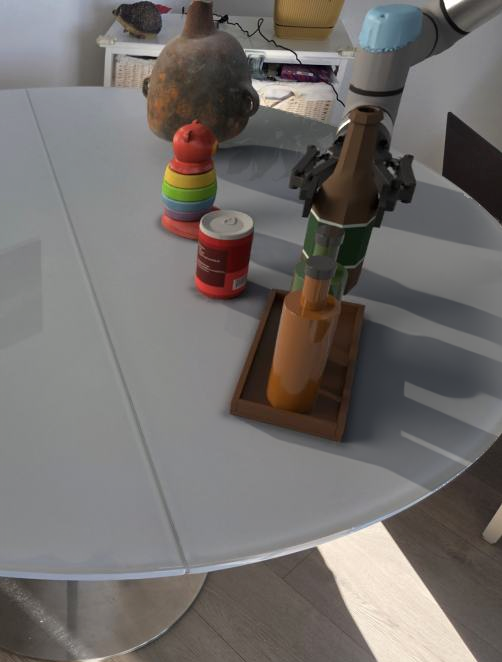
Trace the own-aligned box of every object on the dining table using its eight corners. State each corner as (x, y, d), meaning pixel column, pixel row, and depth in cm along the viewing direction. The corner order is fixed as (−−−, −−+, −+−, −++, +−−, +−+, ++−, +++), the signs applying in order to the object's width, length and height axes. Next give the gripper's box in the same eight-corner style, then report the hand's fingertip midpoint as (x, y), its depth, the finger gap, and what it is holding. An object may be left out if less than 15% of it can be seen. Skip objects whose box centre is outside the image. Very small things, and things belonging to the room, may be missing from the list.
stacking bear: (204, 242, 109) (214, 141, 98) (150, 231, 113) (153, 132, 102) (226, 215, 116) (237, 117, 105) (174, 205, 120) (179, 110, 109)
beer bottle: (324, 304, 85) (367, 126, 70) (284, 277, 91) (317, 106, 76) (369, 288, 87) (421, 111, 72) (328, 262, 93) (368, 93, 78)
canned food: (245, 273, 101) (254, 210, 94) (246, 302, 95) (255, 237, 88) (195, 270, 102) (200, 208, 95) (193, 298, 96) (198, 234, 89)
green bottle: (326, 354, 83) (361, 222, 71) (320, 382, 79) (356, 247, 67) (280, 344, 86) (306, 215, 74) (272, 371, 82) (298, 239, 70)
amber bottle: (319, 388, 79) (354, 253, 67) (312, 419, 75) (348, 282, 63) (270, 377, 81) (296, 244, 69) (261, 406, 77) (287, 272, 65)
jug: (250, 130, 146) (270, -18, 127) (252, 169, 130) (274, 6, 111) (143, 129, 151) (147, -13, 133) (132, 167, 135) (134, 11, 116)
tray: (361, 316, 90) (365, 304, 89) (340, 442, 72) (344, 429, 71) (269, 299, 95) (271, 287, 93) (229, 413, 77) (230, 401, 76)
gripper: (433, 175, 91) (427, 253, 76) (285, 159, 99) (252, 227, 84) (450, 123, 86) (447, 195, 71) (293, 110, 94) (260, 173, 79)
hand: (342, 212), depth 77 cm, fingers closed on beer bottle, 7 cm apart
